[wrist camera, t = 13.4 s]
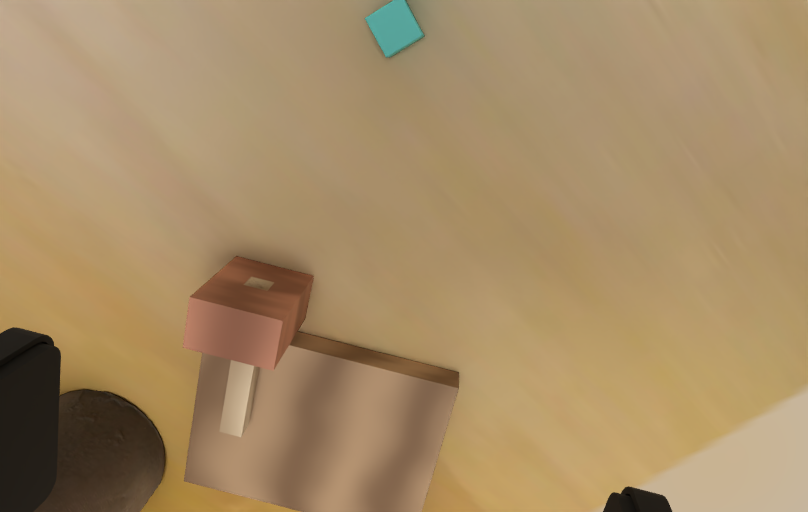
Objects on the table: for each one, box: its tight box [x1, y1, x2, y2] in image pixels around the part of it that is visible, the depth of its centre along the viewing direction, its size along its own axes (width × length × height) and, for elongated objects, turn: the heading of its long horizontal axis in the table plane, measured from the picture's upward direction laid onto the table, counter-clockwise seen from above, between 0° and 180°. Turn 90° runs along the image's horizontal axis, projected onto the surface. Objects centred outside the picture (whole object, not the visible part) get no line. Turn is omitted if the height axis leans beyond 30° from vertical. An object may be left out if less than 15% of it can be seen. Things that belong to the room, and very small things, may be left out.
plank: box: [184, 332, 459, 512], centre depth 40 cm, size 16×12×2 cm
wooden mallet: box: [183, 256, 314, 437], centre depth 37 cm, size 5×10×7 cm, turn 167°
